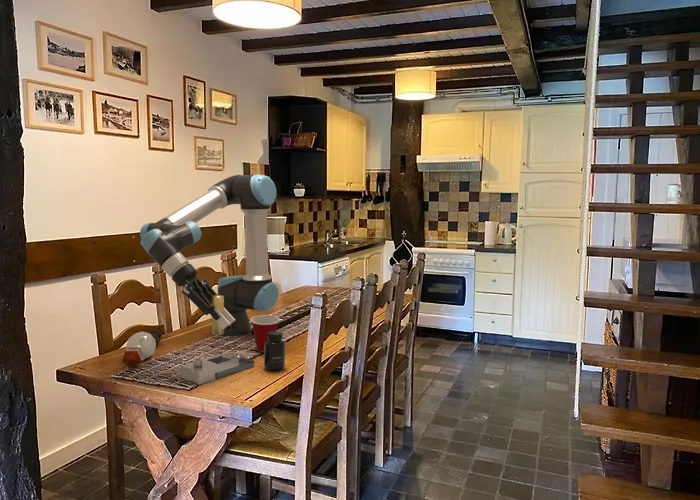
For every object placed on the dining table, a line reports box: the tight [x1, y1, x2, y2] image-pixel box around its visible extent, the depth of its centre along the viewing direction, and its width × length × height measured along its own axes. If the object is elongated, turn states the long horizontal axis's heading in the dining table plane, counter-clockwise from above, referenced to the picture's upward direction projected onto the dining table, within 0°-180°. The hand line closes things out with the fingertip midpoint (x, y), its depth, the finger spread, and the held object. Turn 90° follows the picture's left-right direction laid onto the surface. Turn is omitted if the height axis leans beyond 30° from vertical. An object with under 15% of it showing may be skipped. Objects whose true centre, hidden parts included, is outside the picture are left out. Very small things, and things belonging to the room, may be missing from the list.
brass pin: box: [211, 294, 224, 336], centre depth 161 cm, size 4×4×12 cm
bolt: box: [149, 329, 163, 349], centre depth 193 cm, size 6×5×15 cm
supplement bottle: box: [263, 330, 286, 372], centre depth 167 cm, size 7×7×12 cm
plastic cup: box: [249, 314, 281, 353], centre depth 187 cm, size 11×11×12 cm
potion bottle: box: [121, 331, 157, 368], centre depth 172 cm, size 9×10×15 cm
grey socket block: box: [180, 353, 239, 386], centre depth 160 cm, size 16×9×6 cm, turn 143°
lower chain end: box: [215, 353, 255, 380], centre depth 165 cm, size 16×9×4 cm, turn 143°
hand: (229, 324), depth 161 cm, fingers closed on brass pin, 3 cm apart
